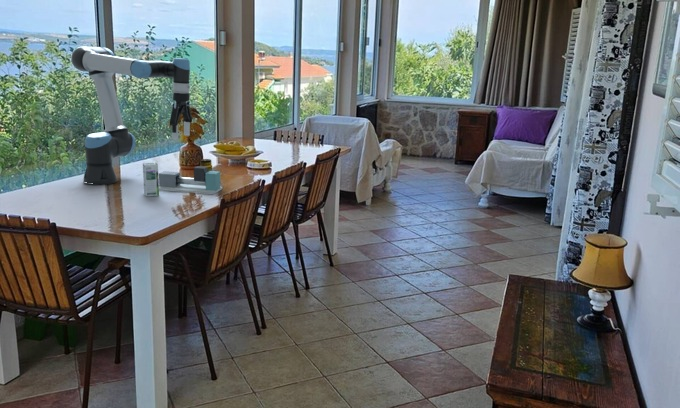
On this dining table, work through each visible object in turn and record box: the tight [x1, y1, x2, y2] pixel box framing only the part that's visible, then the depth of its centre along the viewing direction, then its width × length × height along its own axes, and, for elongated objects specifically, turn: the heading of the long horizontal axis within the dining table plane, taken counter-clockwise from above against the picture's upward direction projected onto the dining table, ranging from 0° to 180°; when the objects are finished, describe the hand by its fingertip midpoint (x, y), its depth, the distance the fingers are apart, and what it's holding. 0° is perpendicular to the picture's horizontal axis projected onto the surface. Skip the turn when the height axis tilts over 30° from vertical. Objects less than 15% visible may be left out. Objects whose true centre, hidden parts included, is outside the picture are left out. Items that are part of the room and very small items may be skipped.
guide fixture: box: [158, 170, 223, 195], centre depth 281 cm, size 28×12×9 cm, turn 82°
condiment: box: [199, 158, 213, 172], centre depth 294 cm, size 7×8×12 cm
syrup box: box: [142, 162, 160, 197], centre depth 266 cm, size 6×6×14 cm
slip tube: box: [176, 165, 208, 186], centre depth 280 cm, size 22×4×9 cm, turn 82°
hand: (180, 137), depth 282 cm, fingers open, 13 cm apart
